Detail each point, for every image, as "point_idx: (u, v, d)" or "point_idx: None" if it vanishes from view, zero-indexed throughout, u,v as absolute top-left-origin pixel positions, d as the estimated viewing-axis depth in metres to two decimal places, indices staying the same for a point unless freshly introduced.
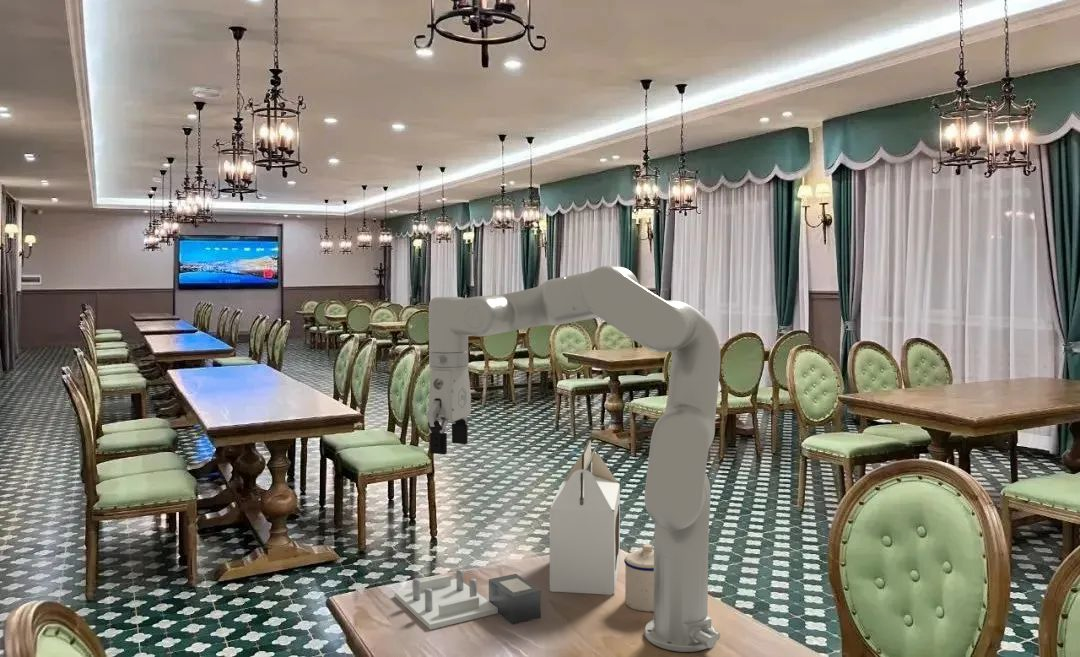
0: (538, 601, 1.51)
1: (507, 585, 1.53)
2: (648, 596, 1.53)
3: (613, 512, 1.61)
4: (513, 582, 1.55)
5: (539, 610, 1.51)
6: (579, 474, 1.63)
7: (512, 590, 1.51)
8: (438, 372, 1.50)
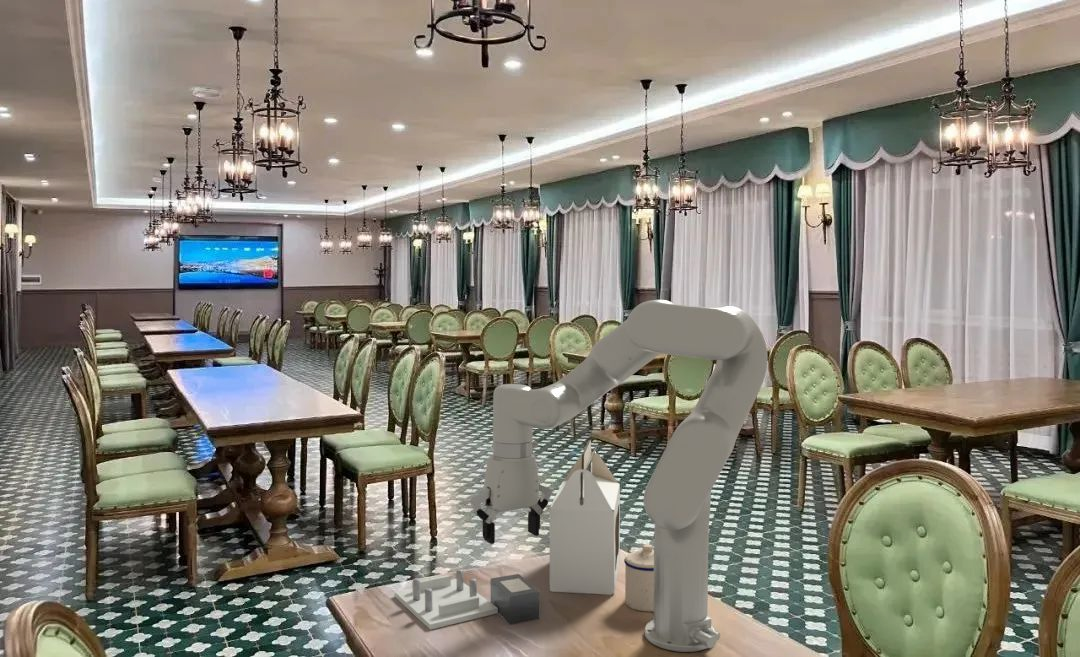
0: (537, 601, 1.50)
1: (507, 585, 1.53)
2: (648, 596, 1.53)
3: (613, 512, 1.61)
4: (514, 582, 1.55)
5: (537, 611, 1.50)
6: (579, 474, 1.63)
7: (511, 590, 1.51)
8: None
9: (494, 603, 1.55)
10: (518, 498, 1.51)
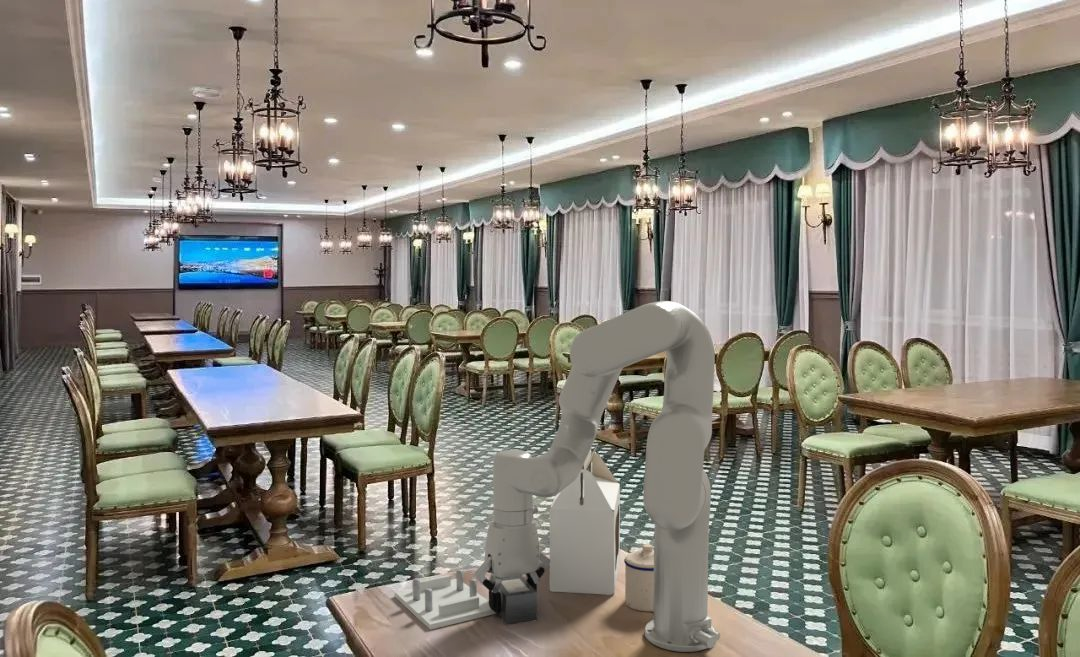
0: (534, 602, 1.50)
1: (506, 585, 1.53)
2: (648, 596, 1.53)
3: (613, 512, 1.61)
4: (513, 582, 1.55)
5: (535, 612, 1.50)
6: (579, 474, 1.63)
7: (509, 590, 1.51)
8: None
9: None
10: (519, 564, 1.51)
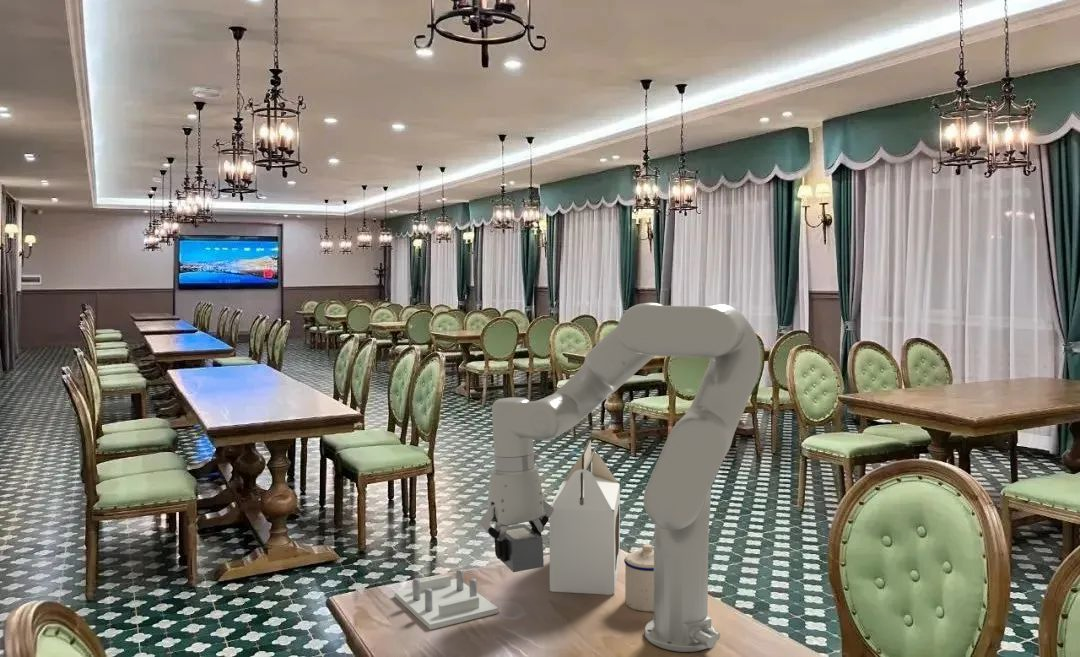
0: (540, 548, 1.49)
1: (511, 533, 1.52)
2: (648, 596, 1.53)
3: (613, 512, 1.61)
4: (518, 531, 1.54)
5: (541, 558, 1.49)
6: (579, 474, 1.63)
7: (514, 537, 1.50)
8: None
9: None
10: (523, 511, 1.51)
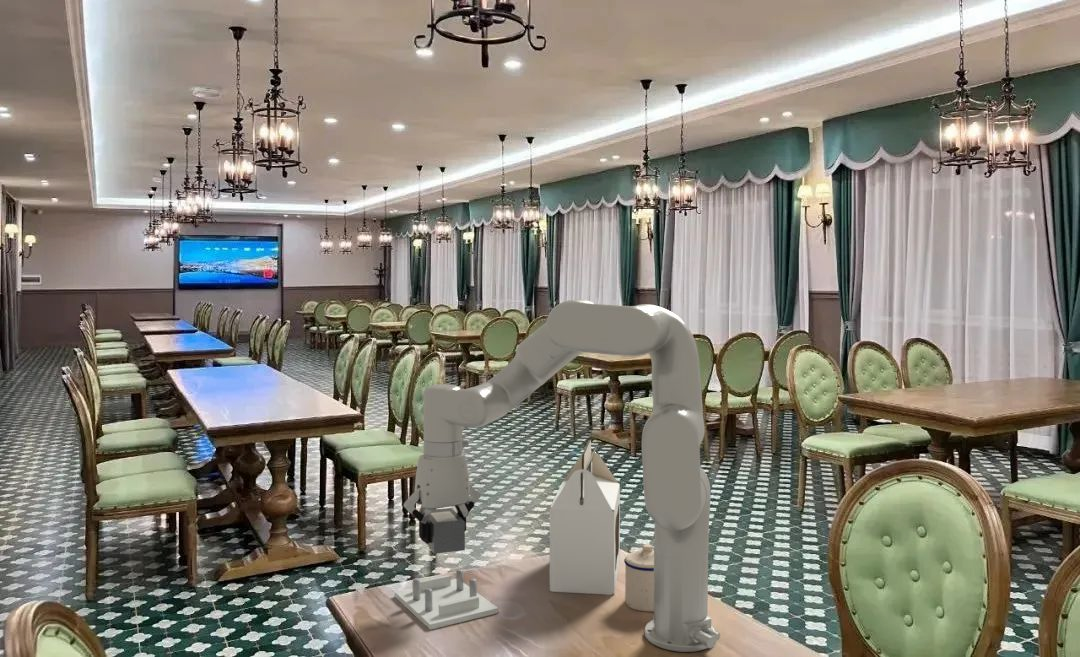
0: (462, 532, 1.53)
1: (436, 516, 1.56)
2: (648, 596, 1.53)
3: (613, 512, 1.61)
4: (443, 514, 1.57)
5: (463, 541, 1.53)
6: (579, 474, 1.63)
7: (437, 520, 1.53)
8: None
9: None
10: (448, 495, 1.54)
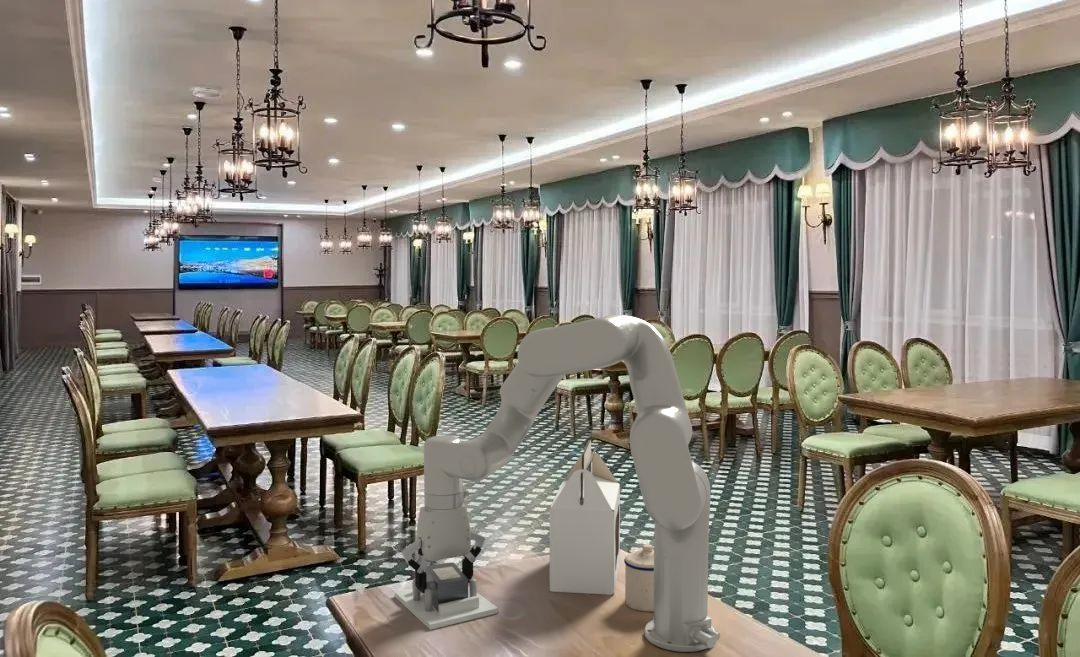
0: (466, 589, 1.53)
1: (438, 573, 1.56)
2: (648, 596, 1.53)
3: (613, 512, 1.61)
4: (446, 570, 1.58)
5: None
6: (579, 474, 1.63)
7: (441, 577, 1.54)
8: None
9: None
10: (449, 547, 1.55)
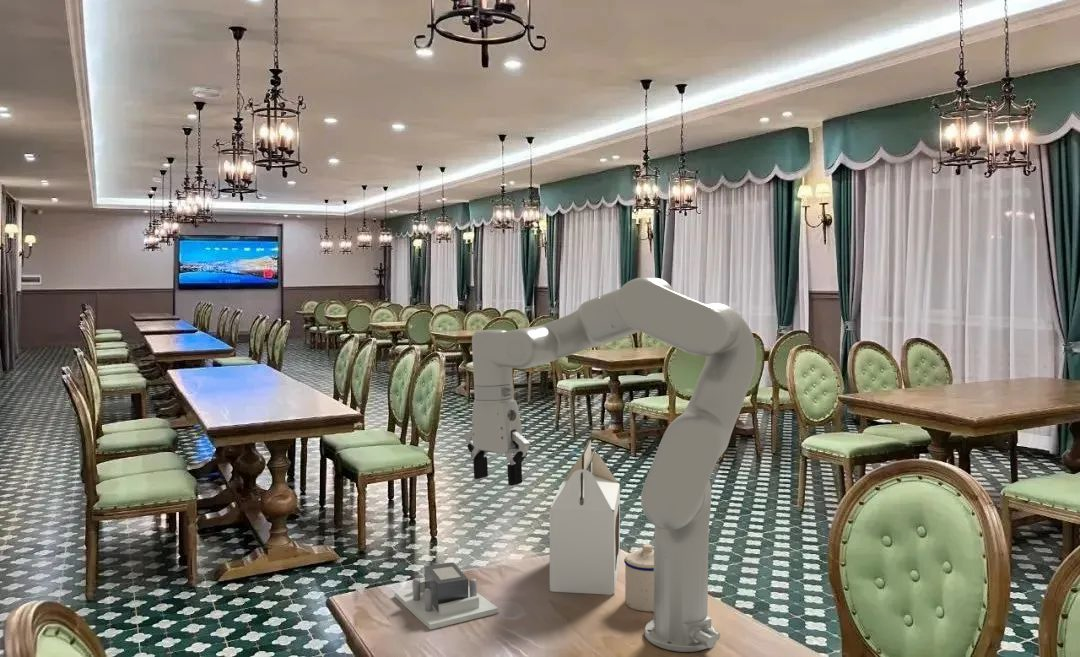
0: (466, 589, 1.53)
1: (438, 573, 1.56)
2: (648, 596, 1.53)
3: (613, 512, 1.61)
4: (446, 570, 1.58)
5: None
6: (579, 474, 1.63)
7: (441, 577, 1.54)
8: (509, 404, 1.52)
9: None
10: (487, 440, 1.54)
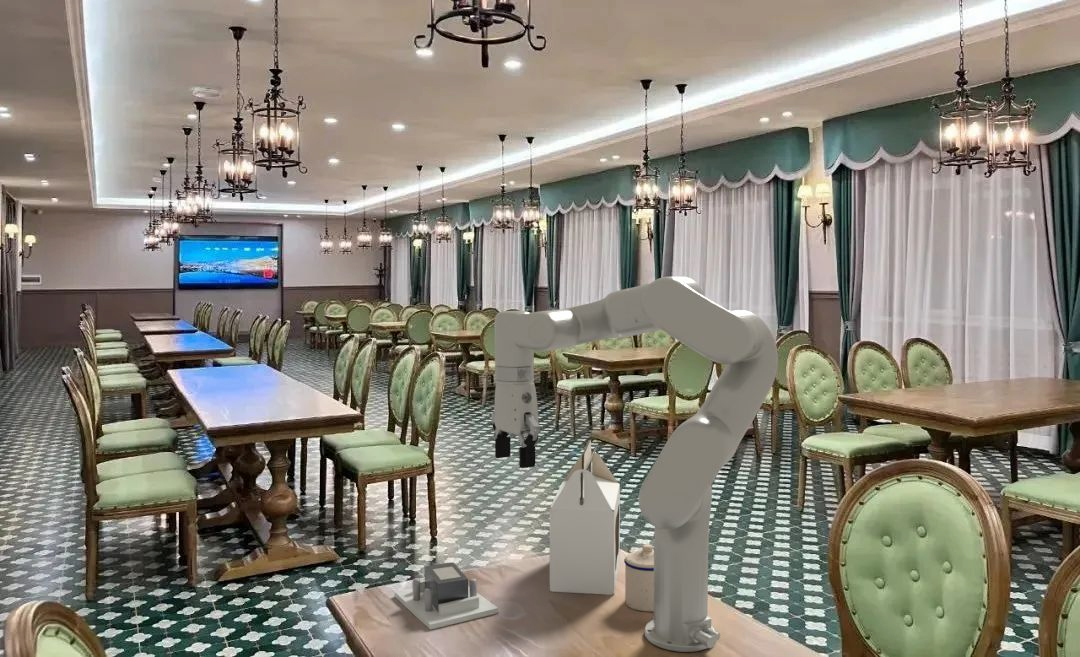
0: (466, 589, 1.53)
1: (438, 573, 1.56)
2: (648, 596, 1.53)
3: (613, 512, 1.61)
4: (446, 570, 1.58)
5: None
6: (579, 474, 1.63)
7: (441, 577, 1.54)
8: (525, 386, 1.51)
9: None
10: (504, 421, 1.54)
